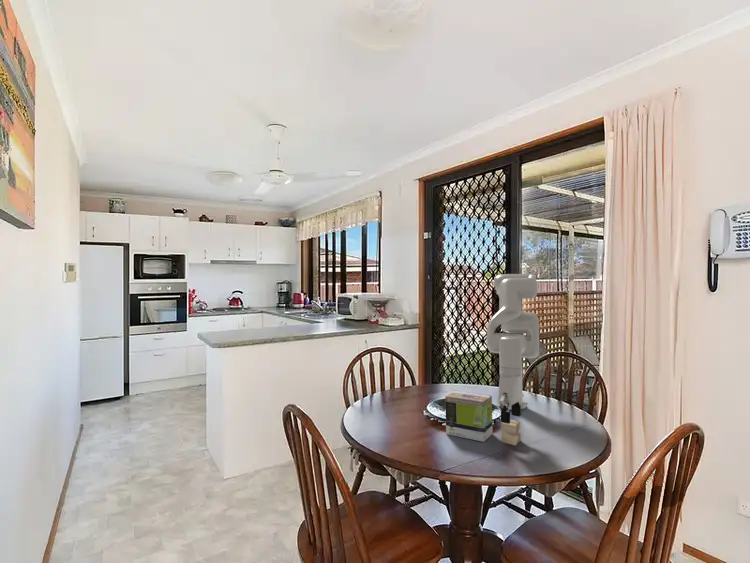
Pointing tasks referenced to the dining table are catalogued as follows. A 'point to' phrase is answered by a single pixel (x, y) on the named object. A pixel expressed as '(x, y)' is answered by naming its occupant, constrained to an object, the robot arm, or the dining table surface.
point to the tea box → (469, 415)
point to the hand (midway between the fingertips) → (510, 419)
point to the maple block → (511, 432)
